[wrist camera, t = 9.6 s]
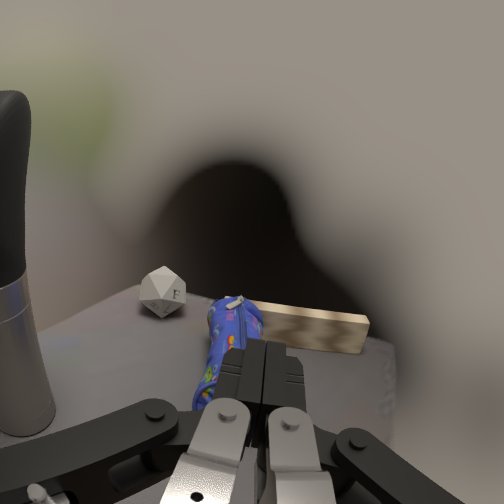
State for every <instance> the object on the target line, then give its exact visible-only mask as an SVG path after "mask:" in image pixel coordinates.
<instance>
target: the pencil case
mask: <svg viewBox="0 0 504 504" xmlns="http://www.w3.org/2000/svg"><path fill="white" fill-rule="evenodd" d="M207 319H208V326H209V333H210V342H211V345H210V350H209V353H208V357H207V366H206V370H205V372H204V375H203V378H202V380H201V382H200V384H199V386H198V388H197V390H196V392H195V395H194V398H193V403H192V409H193V411H196V410H200V409H202V408H204V407H206V405H207V404H208V403H209V402H211V400H212V397H213V393H214V389H215V386H216V382H217V378H218V375H219V371H220V367H221V364H222V360H223V356H224V354H225V353H226V352H227V351H228V350H229V349H230V348H231V347H233V348H239V349H245V347H246V342H247V337H250V338H256V339H262V340H263V337H262V336H263V317H262V314H261V312H260V310H259V309H258V308H257V307H256V306H255V305H254V304H253V303H252V302H251V301H249V300H247V299H245V297H244V298H243V297H242V296H240V297H238V296H236V297H229V298H225V299H221V300H219V301H218V299H217V300H215V301H214V302H213V304H212V305H211V306H210V309H209V311H208V318H207Z"/></svg>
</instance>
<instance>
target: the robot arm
mask: <svg viewBox="0 0 504 504" xmlns="http://www.w3.org/2000/svg"><path fill="white" fill-rule="evenodd" d="M30 136H31V111H30V106H29V102H28V100H27V98H26V96H25V95H24V94H23V93H21V92H19V91H14V90H12V91H11V90H9V91H0V430H1V431H3V432H4V433H7V434H9V435H14V436H28V435H33V434H35V433H38V432H40V431H41V430H43V429H44V428H46V427H47V426H48V425H49V424H50V423H51V421H52V419H53V417H54V414H55V402H54V398H53V395H52V392H51V389H50V385H49V382H48V378H47V374H46V371H45V367H44V363H43V359H42V355H41V351H40V347H39V342H38V338H37V333H36V328H35V323H34V317H33V312H32V306H31V299H30V293H29V286H28V278H27V270H26V259H25V186H26V174H27V164H28V156H29V147H30ZM265 343H266V346H265ZM303 376H304V374H303V366H302V364H301V363H300V361H299V360H298V358H297V357H291V356H286V343H282V342H275V341H268V340H267V342H266V340H262V339H256V338H250V337H247V342H246V347H245V349H239V348H233V347H231V348H230V349H229V350H228V351H227V352H226V353H225V354H224V356H223V360H222V364H221V367H220V371H219V375H218V378H217V382H216V386H215V389H214V393H213V397H212V400H211V402H209V403H208V404H207V405H206V407H204V408H202V409H200V410H196V411H186V412H178V411H177V410H176V408H175V407H174V406H173V405H172V404H171V403H169V402H167V401H165V400H162V399H154V398H153V399H146V400H143V401H140V402H138V403H135V404H133V405H130V406H128V407H125V408H123V409H120V410H118V411H115V412H112V413H110V414H107V415H104V416H102V417H99V418H96V419H94V420H91V421H88V422H85V423H82V424H79V425H77V426H74V427H71V428H68V429H65V430H62V431H59V432H56V433H53V434H49V435H46V436H43V437H40V438H37V439H33V440H30V441H26V442H23V443H19V444H16V445H12V446H9V447H5V448H1V449H0V504H114V503H116V502H118V501H121V500H123V499H125V498H127V497H129V496H131V495H134V494H136V493H138V492H140V491H142V490H144V489H146V488H148V487H150V486H152V485H154V484H156V483H158V482H160V481H162V480H164V479H166V478H167V477H169V476H171V475H172V477H171V479H170V481H169V484H168V486H167V488H166V491H165V493H164V495H163V497H162V500H161V502H160V504H229V501H230V497H231V493H232V489H233V485H234V482H235V478H236V474H237V470H238V466H239V462H240V461H241V460H242V458H243V454H244V450H245V446H246V447H249V445H250V442H251V438H252V443H251V447H253V448H258V452H257V458H256V462H255V466H254V504H465V503H463V502H462V501H460V500H459V499H457V498H456V497H454V496H453V495H452V494H450V493H449V492H447V491H446V490H445V489H443V488H442V487H440V486H439V485H437V484H436V483H435V482H433V481H432V480H431V479H429V478H428V477H427V476H425V475H424V474H422V473H421V472H420V471H418V470H417V469H416V468H414V467H413V466H412V465H410V464H409V463H408V462H406V461H405V460H404V459H403V458H401V457H400V456H399V455H397V454H396V453H395V452H393V451H392V450H391V449H390V448H388V447H387V446H386V445H385V444H383V443H382V442H381V441H379V440H378V439H377V438H376V437H374V436H373V435H372V434H371V433H369V432H368V431H366V430H363V429H360V428H348V429H345V430H343V431H341V432H340V433H339V434H338V435H337V434H334V433H331V432H328V431H325V430H322V429H320V428H318V427H317V426H315V425H314V424H313V423H312V420H311V418H310V417H309V415H307V412H306V399H305V386H304V377H303Z"/></svg>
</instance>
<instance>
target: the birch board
mask: <svg viewBox="0 0 504 504" xmlns="http://www.w3.org/2000/svg"><path fill="white" fill-rule="evenodd" d="M225 298H229V297H228V296H225ZM249 301H251V302H252V303H253V304H254V305H255V306H256V307H257V308H258V309H259V310H260V312H261V314H262V317H263V336H262V337H263V340H266V342H267V340H268V341H275V342H282V343H286V346H287V347H295V348H303V349H312V350H321V351H331V352H341V353H352V354H360V352H361V349H362V347H363V344H364V341H365V338H366V335H367V331H368V328H369V325H370V323H369V321H368V319H367V317H366V316H365V315H356V314H347V313H338V312H331V311H323V310H316V309H308V308H301V307H293V306H286V305H279V304H273V303H266V302H259V301H253V300H249Z"/></svg>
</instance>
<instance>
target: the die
mask: <svg viewBox="0 0 504 504" xmlns="http://www.w3.org/2000/svg"><path fill="white" fill-rule="evenodd" d="M185 299H186V283H185V282H184V281H183V280H182V279H181V278H180V277H179V276H177V275H176V274H175V273H173V272H172V271H171V270H169V269H168V268H167V267H165V266H163V267H161V268H159V269H157V270H155V271H153V272H151V273H149V274H148V275H147V276H146V277H145V278H144V279H143V280H142V284H141V291H140V297H139V301H140V302H141V303H143V304H144V305H145V306H146V307H148V308H149V309H150V310H152V311H153V312H154V313H155V314H157V315H158V316H159V317H161V318H163V317H165V316H166V315H168V314H169V313H171V312H173V311H174V310H176V309H178V308H179V307H181V306H182V305H184V304H185Z"/></svg>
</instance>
